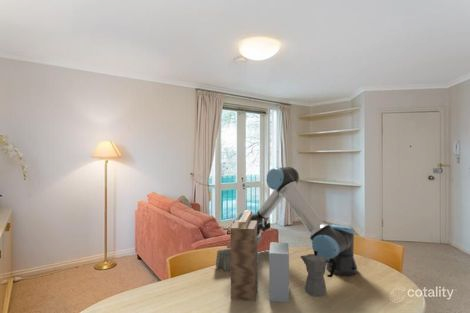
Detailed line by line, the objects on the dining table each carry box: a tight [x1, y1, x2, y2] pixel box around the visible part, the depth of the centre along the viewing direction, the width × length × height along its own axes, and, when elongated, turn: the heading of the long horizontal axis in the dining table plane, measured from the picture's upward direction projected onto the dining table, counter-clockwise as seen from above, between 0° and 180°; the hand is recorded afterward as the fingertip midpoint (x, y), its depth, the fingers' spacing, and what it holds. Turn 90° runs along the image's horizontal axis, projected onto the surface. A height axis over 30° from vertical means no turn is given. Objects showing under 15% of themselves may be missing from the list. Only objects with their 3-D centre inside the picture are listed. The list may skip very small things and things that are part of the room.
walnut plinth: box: [230, 219, 259, 302], centre depth 122 cm, size 10×14×30 cm
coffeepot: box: [300, 250, 337, 298], centre depth 121 cm, size 15×9×18 cm, turn 69°
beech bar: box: [238, 209, 253, 229], centre depth 125 cm, size 3×24×3 cm, turn 170°
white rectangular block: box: [268, 241, 290, 303], centre depth 120 cm, size 8×14×20 cm, turn 170°
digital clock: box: [215, 247, 231, 272], centre depth 148 cm, size 16×9×11 cm, turn 98°
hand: (249, 220), depth 143 cm, fingers open, 13 cm apart
